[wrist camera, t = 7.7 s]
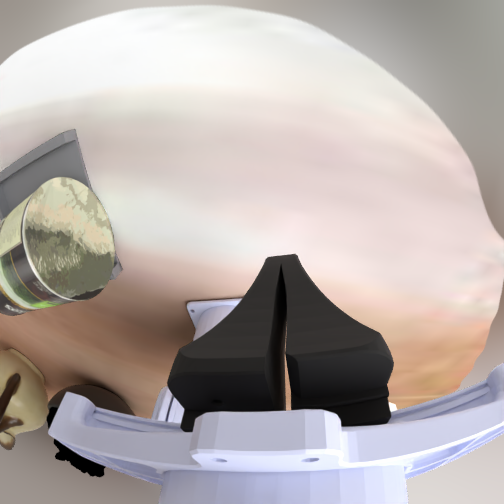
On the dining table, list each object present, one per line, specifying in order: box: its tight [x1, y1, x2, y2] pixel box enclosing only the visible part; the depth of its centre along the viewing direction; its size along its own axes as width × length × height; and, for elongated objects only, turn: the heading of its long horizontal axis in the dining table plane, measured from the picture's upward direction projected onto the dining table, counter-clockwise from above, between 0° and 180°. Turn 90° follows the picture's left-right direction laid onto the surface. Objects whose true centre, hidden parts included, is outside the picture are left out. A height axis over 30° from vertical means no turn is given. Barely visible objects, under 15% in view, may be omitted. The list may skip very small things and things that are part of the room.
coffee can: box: [0, 177, 115, 316], centre depth 20 cm, size 10×10×14 cm
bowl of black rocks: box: [46, 385, 135, 477], centre depth 35 cm, size 20×20×19 cm
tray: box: [0, 129, 122, 280], centre depth 23 cm, size 15×16×2 cm
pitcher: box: [0, 348, 49, 450], centre depth 34 cm, size 22×24×25 cm
